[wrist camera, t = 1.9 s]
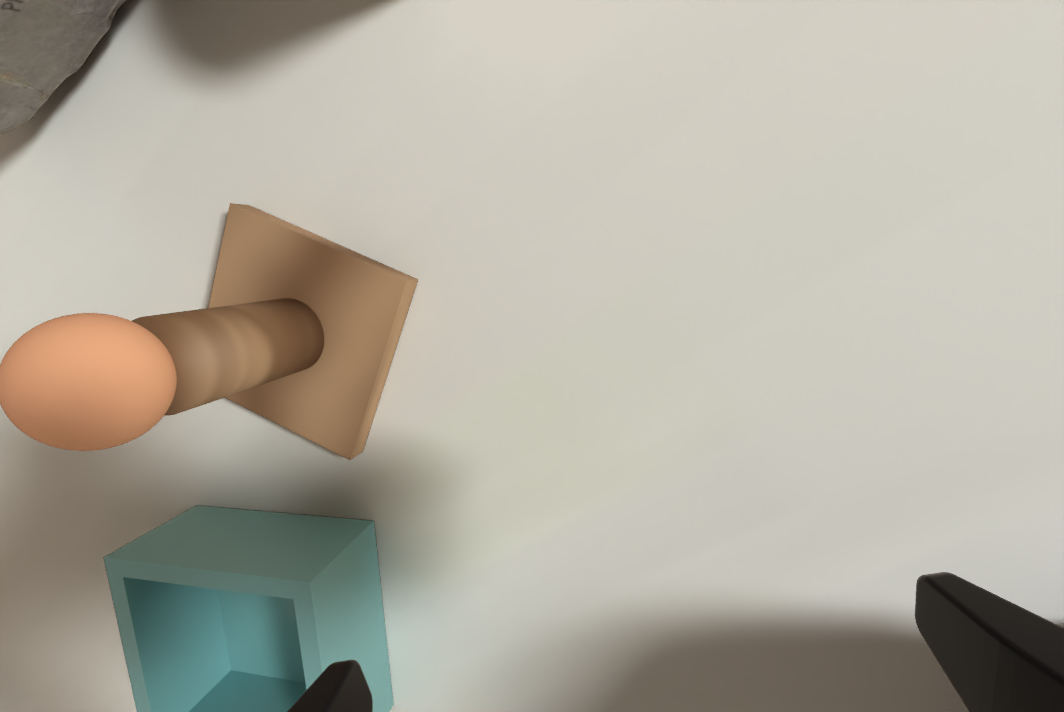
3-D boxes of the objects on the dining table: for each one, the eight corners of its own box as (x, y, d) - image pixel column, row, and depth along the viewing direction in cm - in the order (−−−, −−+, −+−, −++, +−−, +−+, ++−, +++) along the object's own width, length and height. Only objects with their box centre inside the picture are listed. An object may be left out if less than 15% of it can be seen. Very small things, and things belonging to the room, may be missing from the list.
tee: (418, 279, 21) (302, 294, 14) (362, 451, 23) (240, 535, 16) (248, 205, 22) (66, 185, 15) (211, 375, 24) (37, 425, 17)
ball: (228, 396, 15) (102, 440, 12) (148, 441, 16) (10, 493, 13) (166, 284, 15) (18, 295, 11) (88, 337, 16) (-69, 362, 12)
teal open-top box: (373, 520, 23) (309, 582, 19) (393, 704, 25) (338, 798, 21) (196, 505, 26) (103, 557, 21) (226, 675, 27) (146, 754, 23)
